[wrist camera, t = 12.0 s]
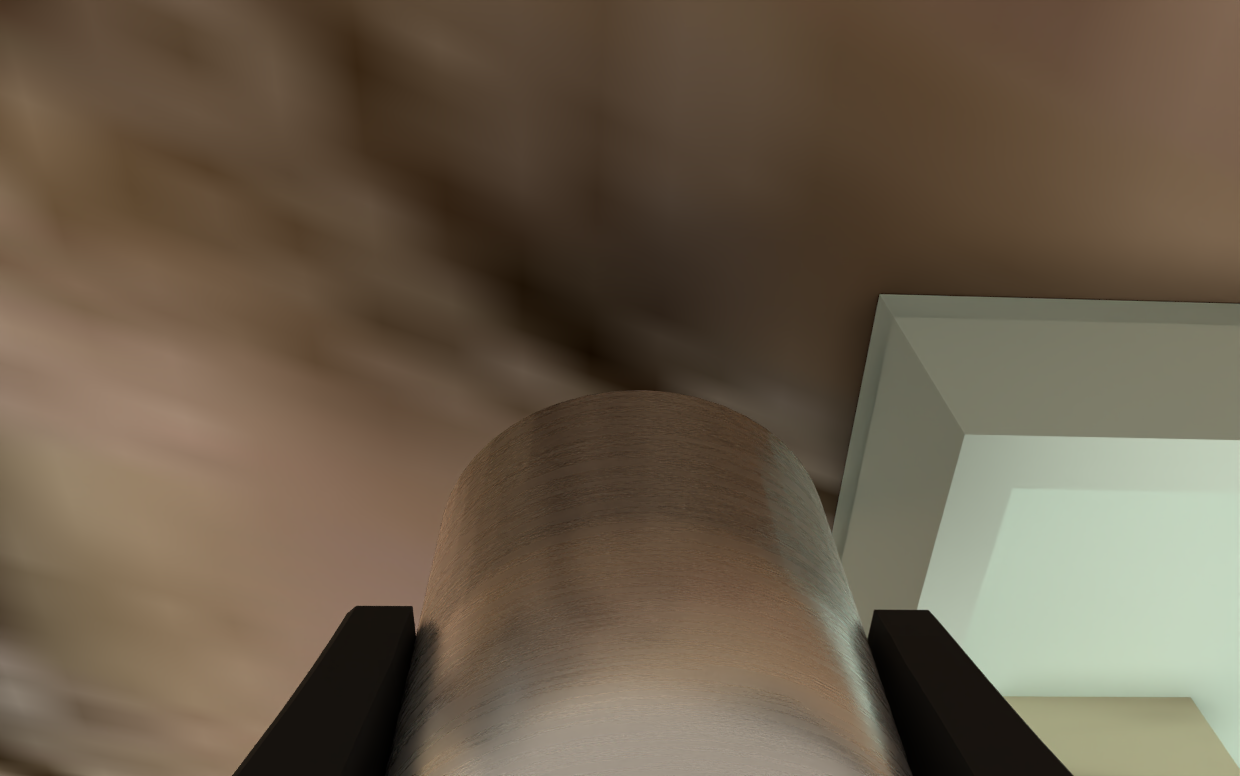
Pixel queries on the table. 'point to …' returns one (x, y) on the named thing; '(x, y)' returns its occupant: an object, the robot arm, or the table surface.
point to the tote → (1056, 492)
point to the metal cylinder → (640, 608)
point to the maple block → (1127, 735)
